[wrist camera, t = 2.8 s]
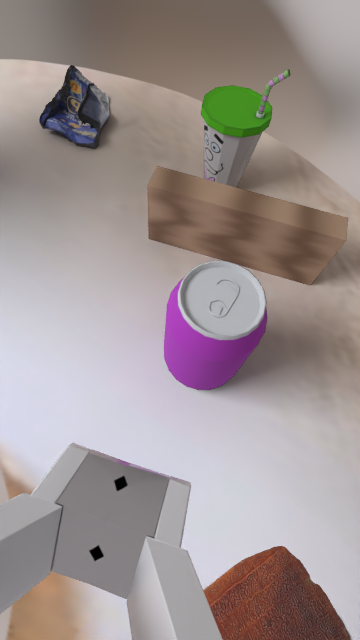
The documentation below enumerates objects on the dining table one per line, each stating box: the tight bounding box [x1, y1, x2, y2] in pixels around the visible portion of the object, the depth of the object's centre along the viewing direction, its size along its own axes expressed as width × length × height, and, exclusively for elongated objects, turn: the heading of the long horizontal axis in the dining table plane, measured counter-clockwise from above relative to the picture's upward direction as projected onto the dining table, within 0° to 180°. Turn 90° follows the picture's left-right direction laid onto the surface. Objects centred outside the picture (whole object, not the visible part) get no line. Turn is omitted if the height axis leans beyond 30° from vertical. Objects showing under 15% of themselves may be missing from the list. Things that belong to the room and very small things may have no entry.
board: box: [148, 166, 348, 285], centre depth 36 cm, size 20×3×8 cm, turn 73°
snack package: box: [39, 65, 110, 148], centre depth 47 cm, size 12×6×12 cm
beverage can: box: [164, 261, 267, 390], centre depth 28 cm, size 8×8×12 cm
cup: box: [201, 70, 290, 188], centre depth 38 cm, size 8×8×15 cm
